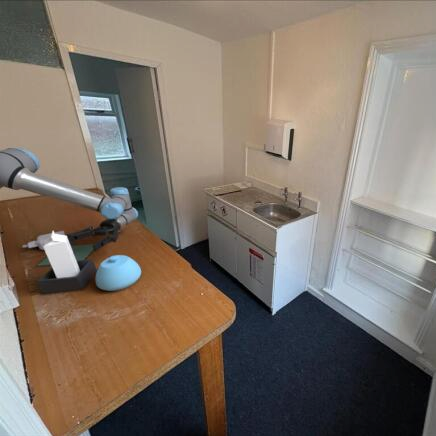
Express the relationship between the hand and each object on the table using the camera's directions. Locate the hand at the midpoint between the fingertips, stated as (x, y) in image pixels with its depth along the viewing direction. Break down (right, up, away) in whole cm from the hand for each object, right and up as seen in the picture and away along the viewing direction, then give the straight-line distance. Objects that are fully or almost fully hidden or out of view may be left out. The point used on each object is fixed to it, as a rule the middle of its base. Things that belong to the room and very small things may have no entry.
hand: (77, 247), depth 94 cm
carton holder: (-1, -14, -1) cm, 14 cm away
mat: (-17, -5, +15) cm, 23 cm away
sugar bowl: (+17, -14, +1) cm, 22 cm away
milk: (-1, -14, -1) cm, 14 cm away
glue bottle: (-34, -2, +20) cm, 39 cm away
